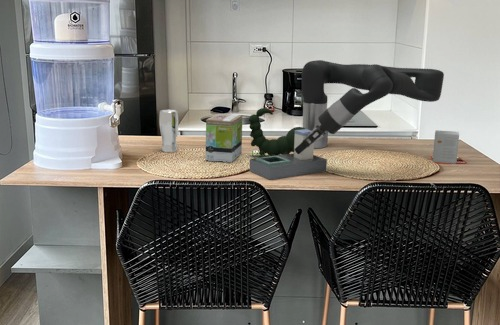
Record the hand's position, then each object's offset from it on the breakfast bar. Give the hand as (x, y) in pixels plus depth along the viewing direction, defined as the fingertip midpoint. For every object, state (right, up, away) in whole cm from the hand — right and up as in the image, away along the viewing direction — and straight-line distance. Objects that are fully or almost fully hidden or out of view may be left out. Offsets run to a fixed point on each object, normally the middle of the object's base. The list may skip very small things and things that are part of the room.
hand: (298, 149), depth 181 cm
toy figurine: (-4, -3, +17) cm, 18 cm away
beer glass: (-46, 0, +25) cm, 53 cm away
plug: (+2, -6, +1) cm, 6 cm away
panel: (-4, -7, -2) cm, 8 cm away
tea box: (-25, -3, +16) cm, 30 cm away
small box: (+53, -4, +14) cm, 55 cm away
